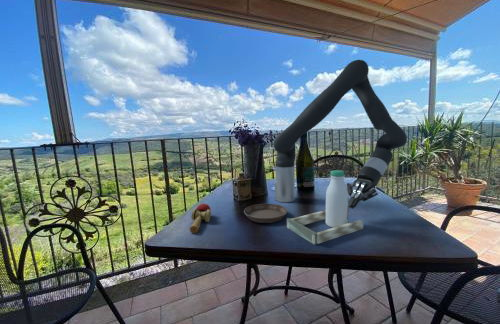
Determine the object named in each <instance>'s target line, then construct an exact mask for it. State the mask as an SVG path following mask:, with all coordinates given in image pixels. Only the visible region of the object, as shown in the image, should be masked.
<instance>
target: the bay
mask: <svg viewBox="0 0 500 324" xmlns="http://www.w3.org/2000/svg"><path fill="white" fill-rule="evenodd" d="M323 220H326V209H324V210H322V211H317V212H312V213H308V214H305V215H301V216H296V217H293V218H292V217H291V218H290V217H287V218H286V228H287V230H289V231H292V233H294V234H296V235H298V236H300V237H301V238H303V239H304V240H306V241H308V242H309V243H311V244H313V245H315V246H316V245H318V244H322V243H325V242H327V241H330V240H335V239H337V238H340V237H342V236H345V235H348V234H352V233H355V232H358V231H361V230H363V229H364V220H363V219H357V220H354V221H350V222H348V223H347V224H344V225H340V226H337V227H334V228H332V227H331V228H330V227H329V228H328V229H324V230H322V231H318V232H316V231H314V230H313V229H310V228H309V227H306V226H305V225H308V224H312V223H316V222H320V221H323Z"/></svg>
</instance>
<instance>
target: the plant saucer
mask: <svg viewBox="0 0 500 324" xmlns="http://www.w3.org/2000/svg"><path fill="white" fill-rule="evenodd" d="M287 213H288V209H287V208H286V207H284V206H283V205H280V204H275V203H259V204H258V203H257V204H253V205H250V206H247V207H245V208H244V210H243V214H244V215H245V216H246V217H247V218H248V219H249V220H250V221H253V222H255V223H258V224H259V223H260V224H270V223H275V222H278V221H281V220H282V219H283V218H284V217H285V216H286V215H287Z"/></svg>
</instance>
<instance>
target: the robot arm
mask: <svg viewBox="0 0 500 324" xmlns="http://www.w3.org/2000/svg"><path fill="white" fill-rule="evenodd" d="M369 69H370V68H369V65H368V63H367V62H366V61H365V60H363V59H356V60H353V61H351V62H349V63H348V64H346V66H345V67H344V69H342V71H341V73H340V74H338V76H337V77H336V78H335V79H334V80H333V82H332V83H331V84H330V85H329V86H327V87H326V88H325V89H324V90H323V91H322V92H321V93H319V95H318V96H316V97H315V98H314V99H313V100H312V101H311V102H310V103H309V104H308V105H307V106H306V107H305V108H304V109H303V111H302V112H301V113H300V114H299V115H298V116H297V117H296V118H295V120H293V122H292V123H291V124H290V125H289V126H288V127H286V128H285V129H284V130H283V131H282V132H280V133H279V134H278V135H277V136H276V137H275V138H274V140H273V142H272V143H273V148H274V151H276V159H275V181H274V200H275V201H277V202H280V203H292V202H294V201H295V200H296V199H295V198H296V196H295V195H296V191H295V190H296V189H295V186H296V185H295V183H296V182H295V181H296V180H295V163H296V162H295V160H296V143H297V141H298V140H300V139H301V138H302V136H303V135H305V134H306V133H308V132H309V131H310V130H312V129H313V128H314V127H315V128H316V126H317V125H319V124H320V123H322V121H323V120H324V119H325V118H327V116H329V115H330V113H331V112H332V111H333V110H334V109H335V107H336V106H337V104H339V102H340V101H341V100H342V98H343V97H344V96H345V95H346V94H347V93H348V92H350V91H351V90H352V91H353V92H354V93H355V95H356V97H357V98H358V99H359V101H360V103H361V105H362V107H363V108H364V111H365V113H366V115H367V117H368V119H369V121H370V122H371V124H372V126H373V128H374V129H375V130H377V131H383V132H384V134H382V135H381V136H380V137H378V139H377V141H376V144H375V147H374V151H373V153H371V156H370V157H369V159H368V160H367V161H366V162H365V163H364V165H363V166H362V167H361V169H360V171H359V172H358V174H357V177H356V179H355V180H354V181H353V182H352V183H350V182H347V183H346V188H347V190H348V197H350V198H348V199H349V202H348V209H349V208H350V209H354V208H356V207H357V205H358V204H359V202H361V201H362V202H366V201H368V200H370V199H372V198H374V197H376V196H379V193H378V191H377V189H376V186H377V185H378V184H379V182H380V180H381V179H382V177H383V176H384V174H385V172H386V171H387V168H388V166H389V165H390V163H391V161H392V160H393V158H394V157H393V156H394V154H393V152H392V150H395V149H398V148H401V147H403V146H405V145H406V144H407V142H408V138H407V133H406V132H405V130H404V129H403V128H402V127H400V125H399V124H398V123H397V122H396V121H395V120H394V119H393V118H392V116H391V115H390V113H389V111H388V109H387V108H386V106H385V104H384V103H383V101H382V100H381V98H380V97H378V95H377V94H376V92H375V90H374V89H373V87H372V85H371V82H370V79H369V72H370V71H369Z"/></svg>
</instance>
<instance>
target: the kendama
mask: <svg viewBox="0 0 500 324" xmlns="http://www.w3.org/2000/svg"><path fill="white" fill-rule="evenodd" d="M211 215H212V209H211V206H209V205H208V204H207V203H200V204H198V206H196V208H193V209H192V211H191V216H190V217H191V218H190V219H191V221H193V223H192V225H191V226H190V227H189V231H190V232H191V233H192V234H197V233H198V232H199V229H200V226H201V223H202V220H203V221H205V222H206V223H209V222H210V219H211Z"/></svg>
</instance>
